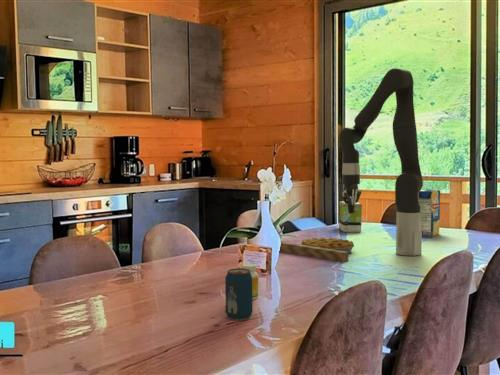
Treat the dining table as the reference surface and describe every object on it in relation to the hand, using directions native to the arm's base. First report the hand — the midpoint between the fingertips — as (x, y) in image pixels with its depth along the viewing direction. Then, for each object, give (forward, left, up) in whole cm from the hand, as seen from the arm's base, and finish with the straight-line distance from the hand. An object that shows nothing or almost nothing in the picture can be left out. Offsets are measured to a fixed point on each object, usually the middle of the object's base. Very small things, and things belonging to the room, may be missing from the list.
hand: (351, 213), depth 250 cm
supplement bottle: (-28, +93, -15) cm, 98 cm away
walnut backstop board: (0, +30, -15) cm, 33 cm away
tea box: (+28, -41, -15) cm, 52 cm away
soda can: (-39, +108, -15) cm, 116 cm away
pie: (0, +17, -15) cm, 23 cm away
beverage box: (-9, -55, -15) cm, 57 cm away
